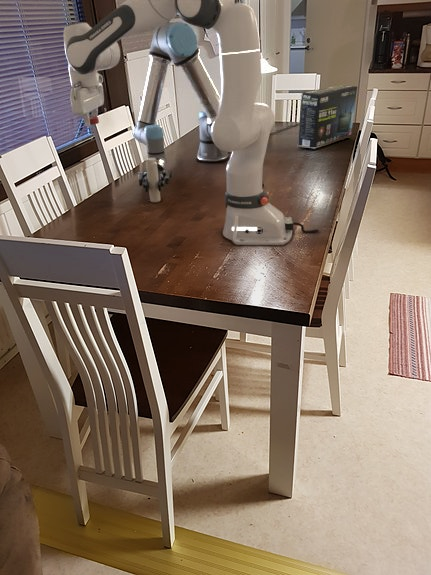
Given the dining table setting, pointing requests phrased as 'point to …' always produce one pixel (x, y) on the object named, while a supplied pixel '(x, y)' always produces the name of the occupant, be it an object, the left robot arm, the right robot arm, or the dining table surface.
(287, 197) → the dining table surface
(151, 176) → the white cylinder
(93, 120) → the lid
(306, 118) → the router box
